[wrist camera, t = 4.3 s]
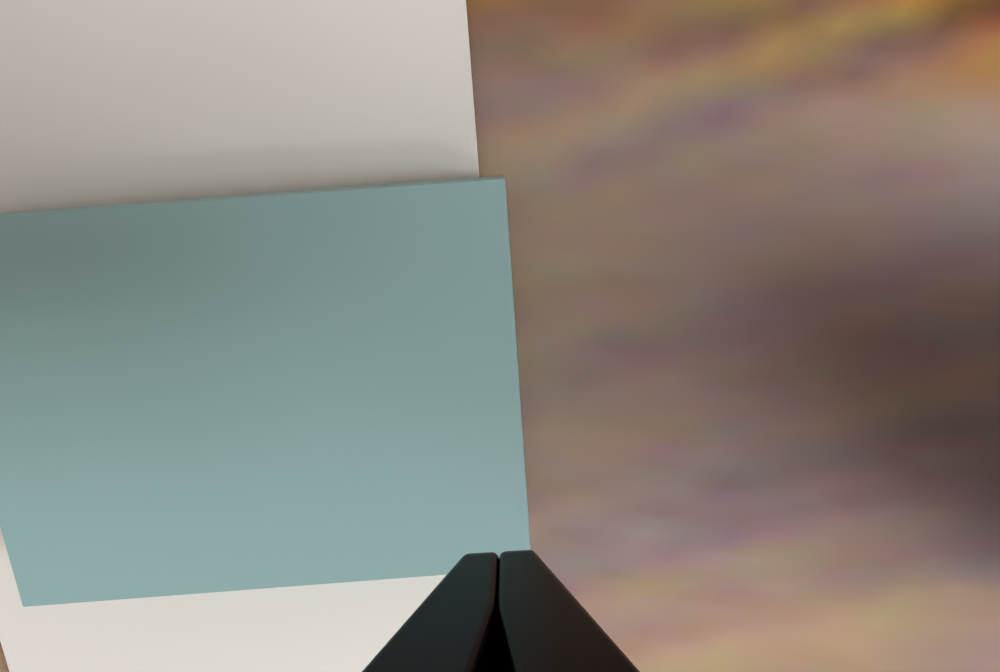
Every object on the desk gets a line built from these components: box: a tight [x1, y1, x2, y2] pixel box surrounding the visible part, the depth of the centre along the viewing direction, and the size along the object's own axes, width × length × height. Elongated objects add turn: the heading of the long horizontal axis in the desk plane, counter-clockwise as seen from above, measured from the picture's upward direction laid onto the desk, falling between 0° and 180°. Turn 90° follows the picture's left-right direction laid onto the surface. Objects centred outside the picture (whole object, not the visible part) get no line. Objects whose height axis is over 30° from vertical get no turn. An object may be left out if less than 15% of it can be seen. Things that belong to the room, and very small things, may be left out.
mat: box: [0, 0, 480, 672], centre depth 18 cm, size 14×18×1 cm
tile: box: [0, 175, 531, 607], centre depth 16 cm, size 2×9×12 cm
